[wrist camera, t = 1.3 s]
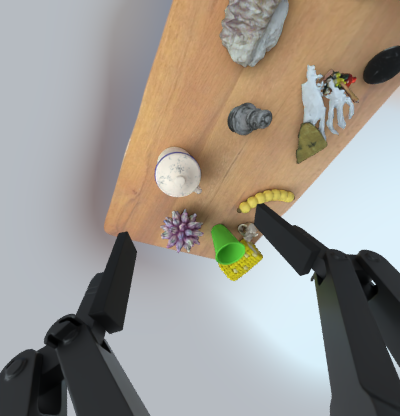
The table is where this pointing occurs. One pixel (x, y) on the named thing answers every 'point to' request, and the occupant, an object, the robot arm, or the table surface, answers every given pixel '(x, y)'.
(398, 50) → the billiard ball
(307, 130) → the stone
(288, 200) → the yellow segmented curved bar
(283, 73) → the table surface
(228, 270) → the food
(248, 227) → the ornament
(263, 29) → the grey ridged fossil rock
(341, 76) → the toy figure
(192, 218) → the flower
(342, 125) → the decorative object
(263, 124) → the grey carved upright piece
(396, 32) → the table surface
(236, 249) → the cup
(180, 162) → the teacup with lid
